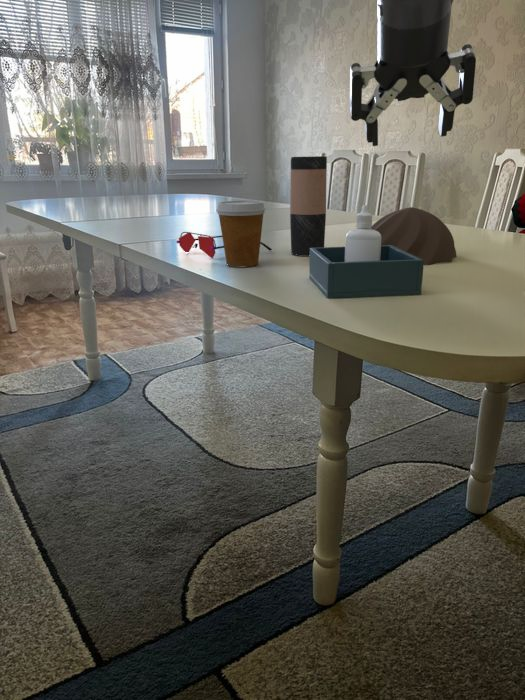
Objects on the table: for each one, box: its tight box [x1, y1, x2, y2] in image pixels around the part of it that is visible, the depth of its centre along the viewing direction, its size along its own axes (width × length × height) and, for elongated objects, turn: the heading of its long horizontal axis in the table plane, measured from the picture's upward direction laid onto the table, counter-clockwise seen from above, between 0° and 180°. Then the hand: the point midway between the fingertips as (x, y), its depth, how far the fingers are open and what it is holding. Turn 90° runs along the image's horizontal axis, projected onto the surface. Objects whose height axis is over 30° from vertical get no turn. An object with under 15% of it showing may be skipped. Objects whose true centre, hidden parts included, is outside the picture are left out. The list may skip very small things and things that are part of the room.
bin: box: [308, 245, 425, 299], centre depth 88 cm, size 15×15×5 cm
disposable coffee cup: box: [215, 200, 267, 267], centre depth 106 cm, size 10×10×12 cm
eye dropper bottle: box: [344, 204, 381, 262], centre depth 87 cm, size 4×6×12 cm
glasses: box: [175, 231, 273, 259], centre depth 121 cm, size 14×16×5 cm
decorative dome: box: [371, 206, 457, 266], centre depth 112 cm, size 19×20×10 cm
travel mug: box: [289, 155, 328, 255], centre depth 115 cm, size 8×8×20 cm
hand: (407, 137), depth 70 cm, fingers open, 8 cm apart
